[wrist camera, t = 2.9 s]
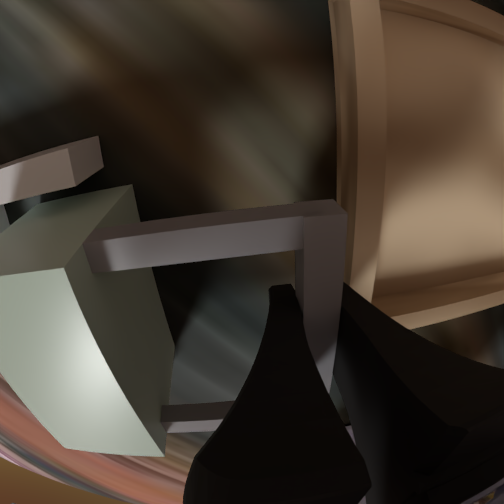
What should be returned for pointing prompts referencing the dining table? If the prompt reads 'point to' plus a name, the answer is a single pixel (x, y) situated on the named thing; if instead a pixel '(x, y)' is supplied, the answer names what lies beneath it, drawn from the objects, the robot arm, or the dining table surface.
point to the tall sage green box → (138, 309)
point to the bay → (48, 172)
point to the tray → (421, 154)
